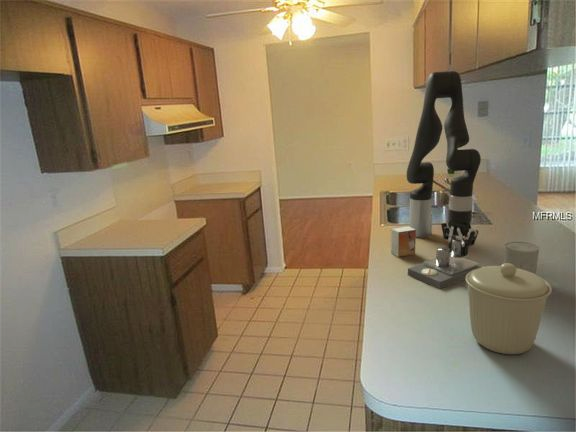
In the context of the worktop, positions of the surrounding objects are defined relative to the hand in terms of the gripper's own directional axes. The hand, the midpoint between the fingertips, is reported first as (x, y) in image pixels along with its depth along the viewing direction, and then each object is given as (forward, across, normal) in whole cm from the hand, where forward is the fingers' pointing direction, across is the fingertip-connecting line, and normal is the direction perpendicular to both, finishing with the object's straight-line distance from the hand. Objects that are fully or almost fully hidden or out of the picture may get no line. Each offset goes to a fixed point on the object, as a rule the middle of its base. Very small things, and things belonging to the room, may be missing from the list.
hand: (457, 253), depth 141 cm
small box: (+6, +23, +4) cm, 24 cm away
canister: (+6, -36, +28) cm, 46 cm away
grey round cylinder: (+6, -18, -8) cm, 20 cm away
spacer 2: (+1, 0, 0) cm, 1 cm away
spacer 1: (+2, 0, +8) cm, 8 cm away
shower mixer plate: (+3, 0, +4) cm, 5 cm away
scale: (+6, 0, +6) cm, 9 cm away
